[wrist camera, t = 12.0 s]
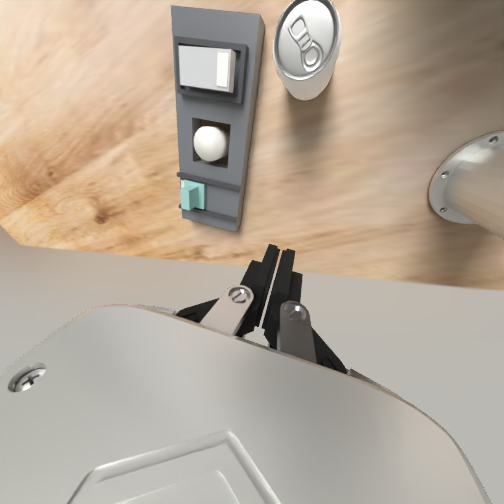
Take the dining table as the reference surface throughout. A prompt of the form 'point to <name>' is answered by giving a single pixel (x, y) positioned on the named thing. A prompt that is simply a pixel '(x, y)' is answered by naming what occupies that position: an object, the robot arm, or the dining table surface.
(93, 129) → the dining table surface
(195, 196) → the teal slide switch
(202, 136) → the push button
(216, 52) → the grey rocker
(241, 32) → the control panel
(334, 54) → the can
